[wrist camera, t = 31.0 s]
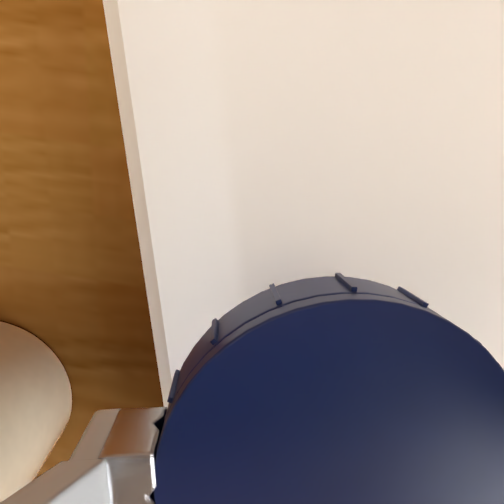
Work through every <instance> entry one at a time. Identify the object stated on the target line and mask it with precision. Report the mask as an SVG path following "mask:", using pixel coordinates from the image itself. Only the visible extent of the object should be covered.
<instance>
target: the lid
mask: <svg viewBox="0 0 504 504" xmlns="http://www.w3.org/2000/svg"><path fill="white" fill-rule="evenodd" d="M269 287H270V289H267V290H265V291H262V292H260V293H258V294H256V295H254V296H253V297H251V298H249V299H247V300H245V301H243V302H241V303H240V304H239V305H237V306H236V307H234V308H233V309H231V310H230V311H229V312H227V313H226V314H224V315H223V316H222V317H221V318H220V319H219V320H217V319H216V318H215V319H213V320H212V326H211V327H210V328H209V329H208V330H207V331H206V333H205V334H204V335H203V336H202V337H201V338H200V340H199V341H198V342H197V343H196V344H195V346H194V347H193V349H192V350H191V352H190V354H189V355H188V357H187V358H186V360H185V361H184V363H183V365H182V367H181V369H180V370H177V369H176V371H175V373H174V377H173V381H172V385H171V388H170V392H169V396H168V400H167V402H169V404H168V408H167V412H166V416H165V420H164V423H163V427H162V431H161V436H160V439H159V443H158V447H157V452H156V459H155V476H156V487H155V489H154V499H155V504H504V370H503V369H502V367H501V365H500V364H499V363H498V362H497V361H496V360H495V358H494V357H493V356H492V355H491V354H490V353H489V351H488V350H487V349H486V348H485V347H484V346H483V345H482V344H481V343H480V342H479V341H478V340H476V339H475V338H473V337H472V336H471V335H470V334H469V333H467V332H466V331H464V330H463V329H461V328H460V327H458V326H456V325H455V324H453V323H452V322H450V321H449V320H447V319H445V318H444V317H442V316H441V315H439V314H438V313H436V312H435V311H433V310H431V309H430V308H428V305H429V304H428V303H427V302H425V301H423V300H422V299H420V298H418V297H417V296H415V295H414V294H412V293H410V292H409V291H407V290H406V289H404V288H402V287H400V286H399V287H398V289H395V288H392V287H390V286H387V285H384V284H381V283H377V282H374V281H371V280H366V279H359V278H353V277H345V276H343V275H342V274H341V273H335V276H324V277H315V278H305V279H301V280H296V281H292V282H288V283H284V284H281V285H278V286H275V285H274V283H273V284H270V285H269Z"/></svg>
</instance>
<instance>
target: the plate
mask: <svg viewBox="0 0 504 504" xmlns="http://www.w3.org/2000/svg"><path fill="white" fill-rule="evenodd" d="M103 6H104V12H105V19H106V25H107V32H108V39H109V45H110V52H111V59H112V65H113V72H114V79H115V85H116V92H117V99H118V105H119V112H120V119H121V125H122V132H123V139H124V145H125V152H126V159H127V165H128V172H129V179H130V185H131V192H132V199H133V205H134V212H135V219H136V225H137V232H138V239H139V245H140V252H141V258H142V265H143V272H144V278H145V285H146V292H147V298H148V305H149V312H150V318H151V325H152V332H153V338H154V345H155V352H156V358H157V365H158V372H159V378H160V385H161V392H162V398H163V405H164V407H167V408H168V404H169V402H167V400H168V396H169V392H170V388H171V385H172V381H173V377H174V373H175V371H176V369H177V370H180V369H181V367H182V365H183V363H184V361H185V360H186V358H187V357H188V355H189V354H190V352H191V350H192V349H193V347H194V346H195V344H196V343H197V342H198V341H199V340H200V338H201V337H202V336H203V335H204V334H205V333H206V331H207V330H208V329H209V328H210V327H211V326H212V320H213V319H215V318H216V319H217V320H219V319H220V318H221V317H222V316H223V315H224V314H226V313H227V312H229V311H230V310H231V309H233V308H234V307H236V306H237V305H239V304H240V303H241V302H243V301H245V300H247V299H249V298H251V297H253V296H254V295H256V294H258V293H260V292H262V291H265V290H267V289H270V287H269V285H270V284H273V283H274V285H275V286H278V285H281V284H284V283H288V282H292V281H296V280H301V279H305V278H315V277H324V276H335V273H341V274H342V275H343V276H345V277H353V278H359V279H366V280H371V281H374V282H377V283H381V284H384V285H387V286H390V287H392V288H395V289H398V287H399V286H400V287H402V288H404V289H406V290H407V291H409V292H410V293H412V294H414V295H415V296H417V297H418V298H420V299H422V300H423V301H425V302H427V303H428V304H429V305H428V308H430V309H431V310H433V311H435V312H436V313H438V314H439V315H441V316H442V317H444V318H445V319H447V320H449V321H450V322H452V323H453V324H455V325H456V326H458V327H460V328H461V329H463V330H464V331H466V332H467V333H469V334H470V335H471V336H472V337H473V338H475V339H476V340H478V341H479V342H480V343H481V344H482V345H483V346H484V347H485V348H486V349H487V350H488V351H489V353H490V354H491V355H492V356H493V357H494V358H495V360H496V361H497V362H498V363H499V364H500V365H501V367H502V369H503V370H504V0H103Z"/></svg>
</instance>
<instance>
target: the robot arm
mask: <svg viewBox="0 0 504 504" xmlns="http://www.w3.org/2000/svg"><path fill="white" fill-rule="evenodd" d="M166 412H167V407H149V408H124V409H120V408H119V409H105V410H98V411H96V412H95V413H94V415H93V416H92V418H91V420H90V422H89V424H88V426H87V428H86V429H85V431H84V433H83V435H82V437H81V439H80V440H79V442H78V444H77V446H76V448H75V450H74V452H73V453H72V455H71V457H70V459H69V461H61V462H60V463H58V464H57V465H55V466H54V467H52V468H51V469H49V470H48V471H46V472H45V473H43V474H42V475H40V476H39V477H37V478H36V479H35V480H33V481H32V482H30V483H29V484H27V485H26V486H24V487H23V488H21V489H20V490H18V491H17V492H15V493H14V494H12V495H11V496H9V497H8V498H7V499H5V500H4V501H2V502H1V503H0V504H155V499H154V489H155V487H156V476H155V459H156V452H157V447H158V443H159V439H160V436H161V431H162V427H163V423H164V420H165V416H166Z"/></svg>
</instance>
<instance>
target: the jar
mask: <svg viewBox="0 0 504 504" xmlns="http://www.w3.org/2000/svg"><path fill="white" fill-rule="evenodd" d="M71 408H72V392H71V385H70V382H69V378H68V375H67V373H66V371H65V369H64V367H63V365H62V363H61V362H60V360H59V359H58V357H57V356H56V355H55V354H54V352H53V351H52V350H51V349H50V348H49V347H48V346H47V345H46V344H45V343H44V342H43V341H41V340H40V339H38V338H37V337H36V336H34V335H33V334H31V333H29V332H27V331H26V330H24V329H22V328H19V327H17V326H15V325H12V324H8V323H5V322H2V321H0V503H1V502H2V501H4V500H5V499H7V498H8V497H9V496H11V495H12V494H14V493H15V492H17V491H18V490H20V489H21V488H23V487H24V486H26V485H27V484H29V483H30V482H32V481H33V480H34V479H35V478H36V476H37V474H38V473H39V471H40V470H41V468H42V466H43V465H44V463H45V461H46V460H47V458H48V456H49V455H50V453H51V451H52V450H53V448H54V447H55V445H56V443H57V442H58V440H59V438H60V437H61V435H62V433H63V432H64V430H65V428H66V426H67V424H68V421H69V418H70V414H71Z"/></svg>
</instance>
